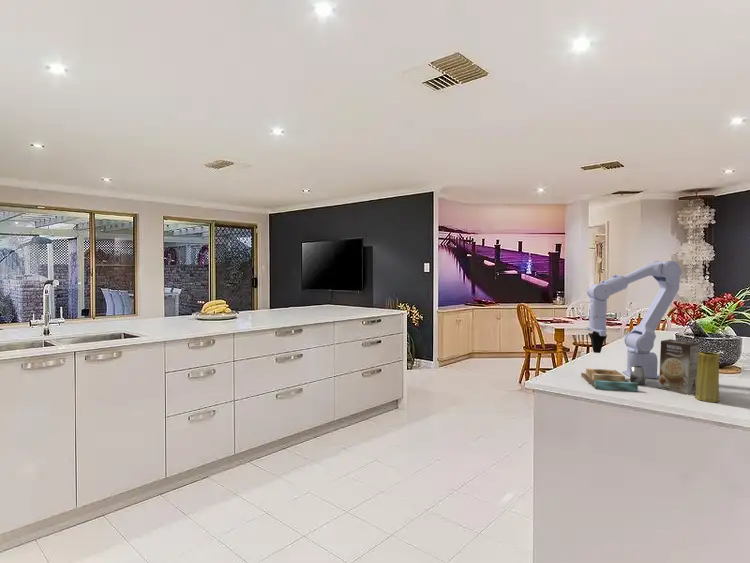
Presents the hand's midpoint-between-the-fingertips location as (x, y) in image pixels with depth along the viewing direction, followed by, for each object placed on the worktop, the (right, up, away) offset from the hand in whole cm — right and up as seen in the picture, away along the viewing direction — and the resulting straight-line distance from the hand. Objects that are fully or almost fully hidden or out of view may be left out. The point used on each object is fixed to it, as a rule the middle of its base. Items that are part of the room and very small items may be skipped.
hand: (596, 352), depth 172 cm
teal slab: (-3, -9, -13) cm, 16 cm away
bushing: (+8, -9, -13) cm, 18 cm away
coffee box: (+16, -9, -21) cm, 28 cm away
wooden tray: (-2, -9, -10) cm, 13 cm away
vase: (+18, -10, -32) cm, 38 cm away
